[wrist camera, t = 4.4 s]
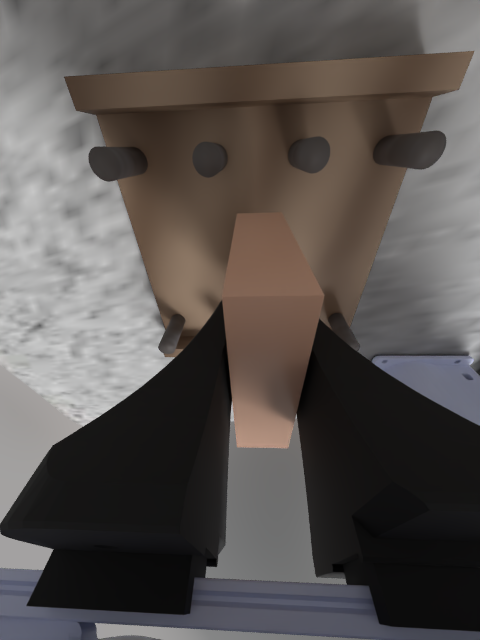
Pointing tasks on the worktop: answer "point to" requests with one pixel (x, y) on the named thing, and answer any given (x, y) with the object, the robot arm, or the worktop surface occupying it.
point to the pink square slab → (268, 327)
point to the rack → (264, 167)
